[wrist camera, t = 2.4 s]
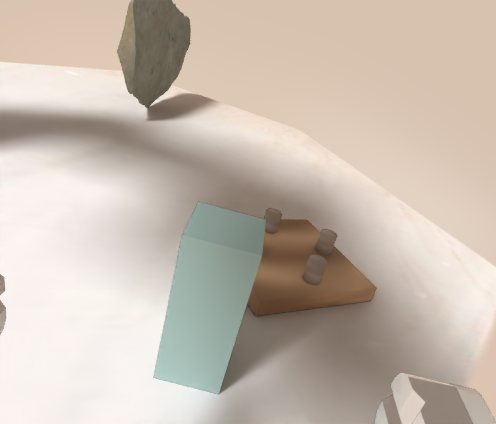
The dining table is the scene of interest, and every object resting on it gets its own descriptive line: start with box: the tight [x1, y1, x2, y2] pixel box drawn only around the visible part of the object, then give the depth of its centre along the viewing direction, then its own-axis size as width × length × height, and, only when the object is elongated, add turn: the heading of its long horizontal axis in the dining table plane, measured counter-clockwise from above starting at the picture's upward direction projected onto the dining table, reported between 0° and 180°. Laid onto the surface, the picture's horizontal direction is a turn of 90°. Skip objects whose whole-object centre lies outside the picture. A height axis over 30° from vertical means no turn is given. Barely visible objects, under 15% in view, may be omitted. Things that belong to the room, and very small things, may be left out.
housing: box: [248, 208, 376, 316], centre depth 37 cm, size 12×12×4 cm
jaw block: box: [153, 202, 266, 394], centre depth 23 cm, size 4×4×10 cm
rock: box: [117, 0, 190, 108], centre depth 72 cm, size 27×6×20 cm, turn 174°
